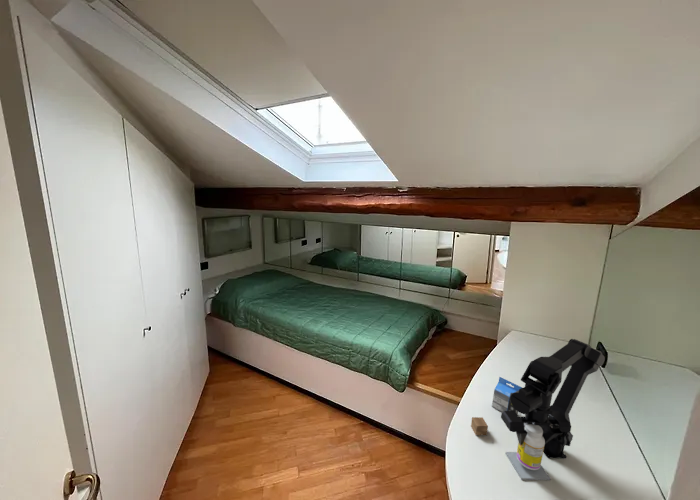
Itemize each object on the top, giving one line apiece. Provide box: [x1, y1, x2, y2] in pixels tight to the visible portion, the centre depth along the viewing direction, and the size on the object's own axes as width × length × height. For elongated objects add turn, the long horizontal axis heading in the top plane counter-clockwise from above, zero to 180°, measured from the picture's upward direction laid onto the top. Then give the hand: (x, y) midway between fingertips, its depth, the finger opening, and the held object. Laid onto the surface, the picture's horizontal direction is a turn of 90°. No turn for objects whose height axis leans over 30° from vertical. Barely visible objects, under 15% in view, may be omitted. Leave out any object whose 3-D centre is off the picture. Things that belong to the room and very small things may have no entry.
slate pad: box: [505, 451, 551, 481], centre depth 93 cm, size 9×9×1 cm
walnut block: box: [470, 416, 489, 436], centre depth 106 cm, size 4×4×4 cm
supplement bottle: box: [516, 425, 545, 470], centre depth 91 cm, size 7×7×13 cm
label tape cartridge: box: [491, 376, 523, 416], centre depth 115 cm, size 9×4×12 cm, turn 42°
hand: (531, 443), depth 91 cm, fingers open, 7 cm apart
